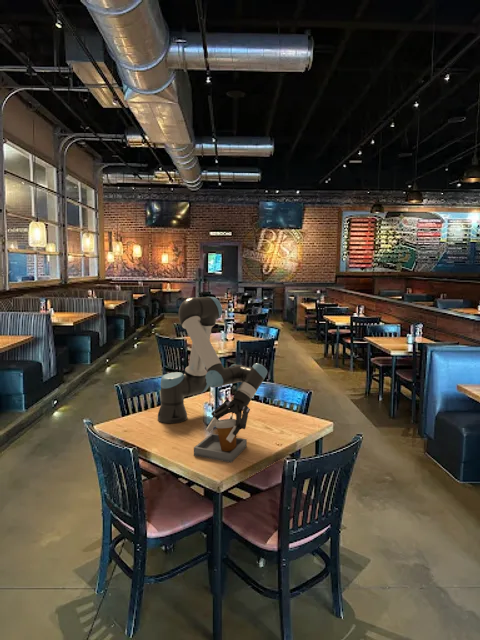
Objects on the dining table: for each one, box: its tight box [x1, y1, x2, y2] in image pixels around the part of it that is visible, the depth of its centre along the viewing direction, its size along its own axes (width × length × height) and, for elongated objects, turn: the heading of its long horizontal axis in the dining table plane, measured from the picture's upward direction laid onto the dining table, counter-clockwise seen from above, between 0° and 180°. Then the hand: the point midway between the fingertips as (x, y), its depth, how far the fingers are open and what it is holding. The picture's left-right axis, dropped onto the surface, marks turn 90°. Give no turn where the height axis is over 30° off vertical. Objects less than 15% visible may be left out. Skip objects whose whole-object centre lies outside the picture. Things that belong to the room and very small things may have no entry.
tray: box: [193, 433, 248, 464], centre depth 186 cm, size 17×17×4 cm
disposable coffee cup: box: [215, 418, 237, 451], centre depth 185 cm, size 10×10×12 cm
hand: (217, 436), depth 184 cm, fingers open, 13 cm apart
